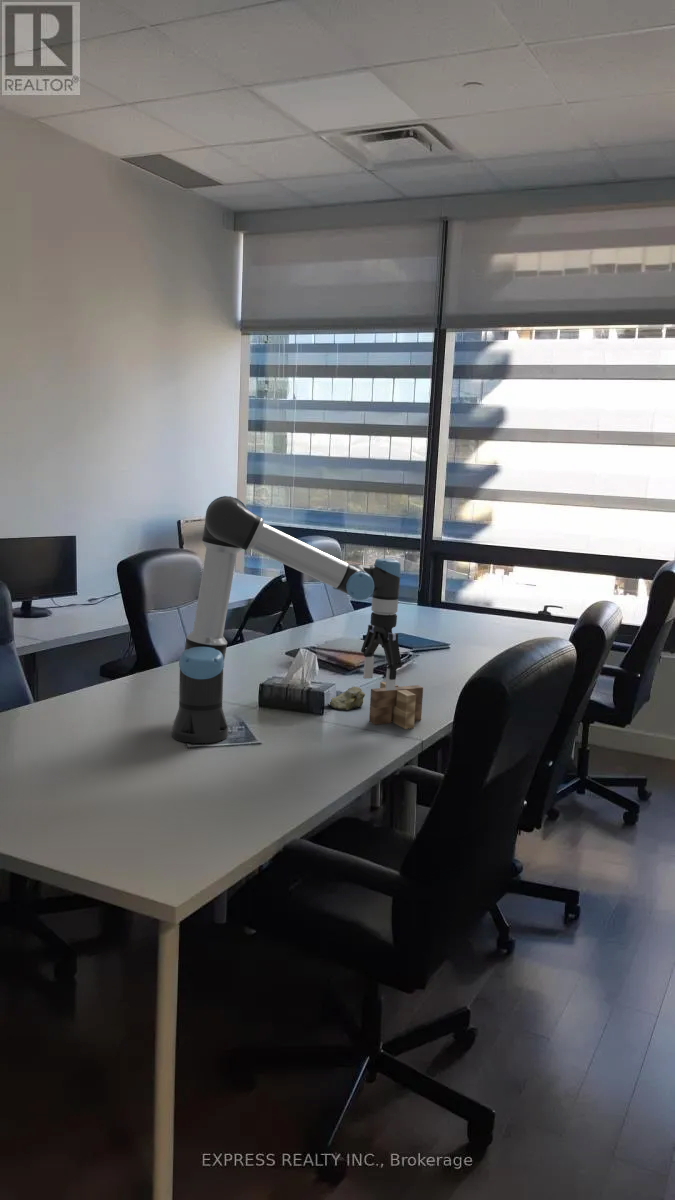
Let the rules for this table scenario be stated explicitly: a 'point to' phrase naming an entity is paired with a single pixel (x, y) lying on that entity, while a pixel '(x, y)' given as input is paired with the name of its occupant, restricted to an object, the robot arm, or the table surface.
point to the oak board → (403, 708)
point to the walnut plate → (391, 703)
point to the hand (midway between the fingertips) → (378, 684)
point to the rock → (348, 699)
